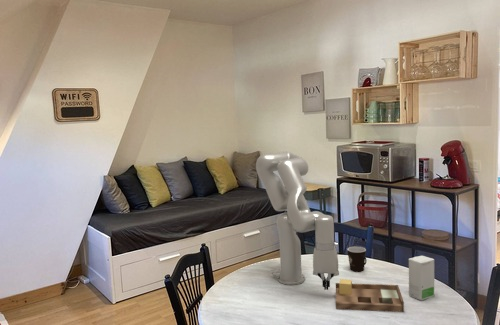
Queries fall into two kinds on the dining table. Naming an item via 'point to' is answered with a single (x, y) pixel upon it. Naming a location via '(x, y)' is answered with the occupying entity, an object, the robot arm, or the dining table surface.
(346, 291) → the ochre block
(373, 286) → the board
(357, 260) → the coffee mug
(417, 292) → the skincare box
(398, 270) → the dining table surface
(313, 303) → the dining table surface
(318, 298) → the dining table surface
